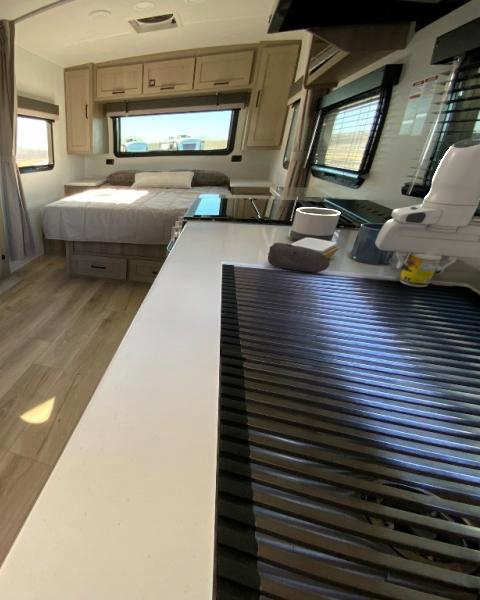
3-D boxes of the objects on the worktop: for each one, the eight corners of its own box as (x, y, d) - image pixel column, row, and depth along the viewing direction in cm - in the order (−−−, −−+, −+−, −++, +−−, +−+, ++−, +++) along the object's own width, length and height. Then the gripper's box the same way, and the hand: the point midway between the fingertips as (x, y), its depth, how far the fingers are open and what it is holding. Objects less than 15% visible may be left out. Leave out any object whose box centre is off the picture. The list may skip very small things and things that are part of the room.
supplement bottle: (395, 278, 88) (411, 240, 83) (422, 281, 86) (441, 243, 81) (401, 285, 84) (419, 246, 79) (431, 289, 81) (450, 249, 77)
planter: (280, 238, 123) (288, 209, 118) (304, 234, 127) (312, 206, 122) (314, 247, 112) (323, 216, 107) (339, 242, 116) (349, 212, 112)
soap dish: (301, 250, 109) (306, 235, 107) (336, 258, 102) (341, 242, 100) (283, 259, 103) (287, 243, 101) (318, 267, 96) (324, 250, 94)
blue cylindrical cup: (384, 256, 103) (397, 224, 98) (394, 266, 95) (409, 232, 91) (346, 252, 107) (357, 221, 102) (353, 262, 99) (365, 229, 95)
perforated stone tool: (327, 272, 93) (335, 248, 90) (325, 278, 89) (333, 253, 86) (268, 261, 101) (273, 239, 98) (264, 267, 97) (269, 244, 94)
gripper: (499, 215, 75) (468, 271, 81) (385, 209, 83) (365, 261, 90) (516, 221, 70) (482, 281, 76) (393, 214, 78) (371, 269, 84)
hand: (418, 270), depth 83 cm, fingers closed on supplement bottle, 5 cm apart
